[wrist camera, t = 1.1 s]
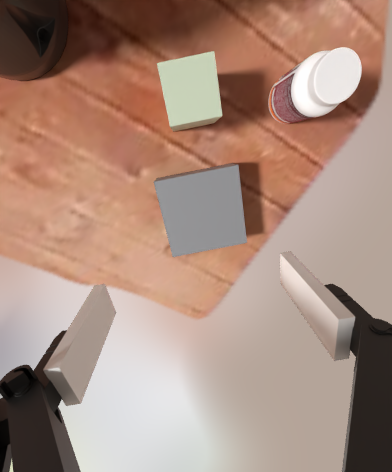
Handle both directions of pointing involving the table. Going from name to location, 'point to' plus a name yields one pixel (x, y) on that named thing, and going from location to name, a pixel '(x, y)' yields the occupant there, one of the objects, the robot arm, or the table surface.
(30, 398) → the robot arm
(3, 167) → the table surface
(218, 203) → the slate block
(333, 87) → the pill bottle
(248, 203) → the table surface
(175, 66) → the sage block
